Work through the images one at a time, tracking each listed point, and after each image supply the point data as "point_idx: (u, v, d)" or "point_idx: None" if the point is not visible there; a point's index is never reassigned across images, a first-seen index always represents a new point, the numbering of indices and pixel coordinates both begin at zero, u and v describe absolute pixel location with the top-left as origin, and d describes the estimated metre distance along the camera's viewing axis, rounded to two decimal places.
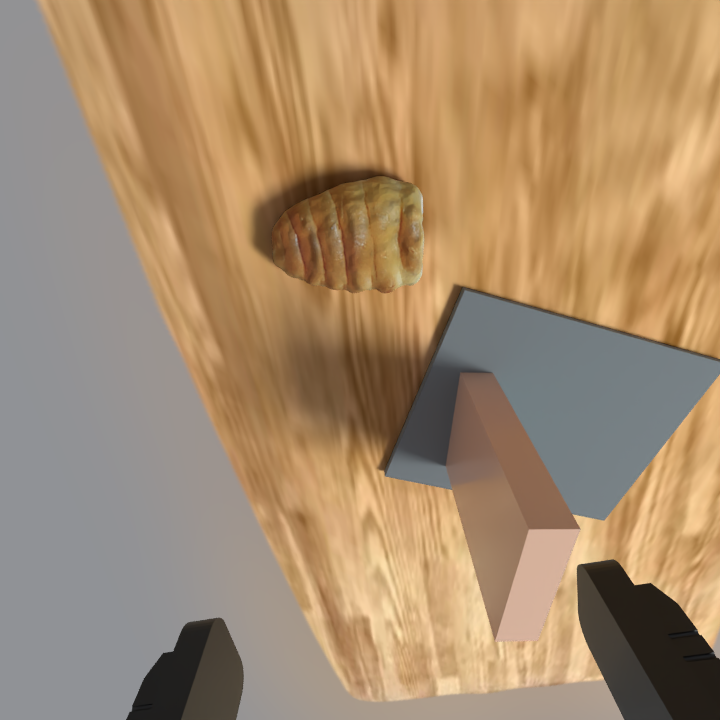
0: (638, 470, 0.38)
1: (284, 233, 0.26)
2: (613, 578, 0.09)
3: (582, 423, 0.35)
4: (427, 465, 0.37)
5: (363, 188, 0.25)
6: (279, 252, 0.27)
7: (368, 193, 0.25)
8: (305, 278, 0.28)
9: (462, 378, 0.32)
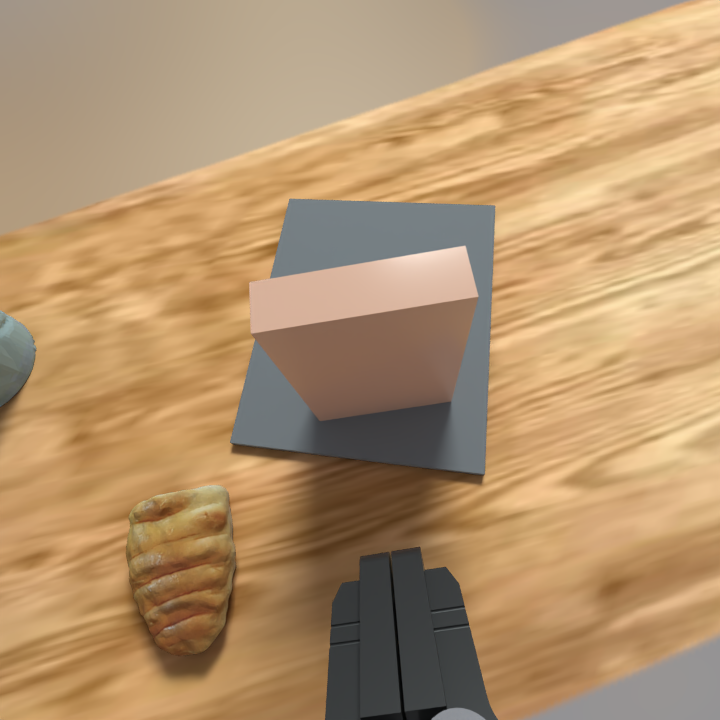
0: (417, 207, 0.37)
1: (167, 642, 0.25)
2: (409, 562, 0.10)
3: None
4: (454, 424, 0.30)
5: (128, 562, 0.27)
6: (189, 645, 0.25)
7: (129, 557, 0.27)
8: (212, 612, 0.26)
9: None
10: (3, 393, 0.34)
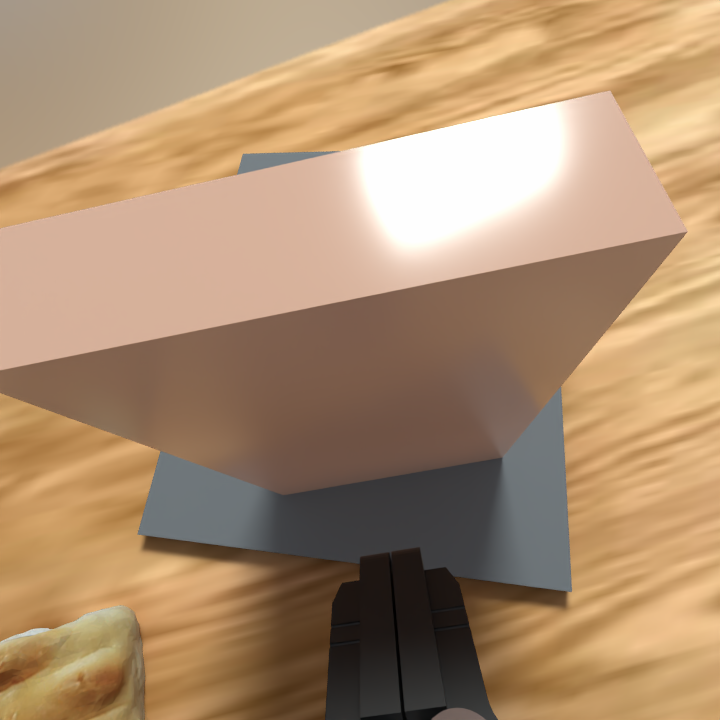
0: None
1: None
2: (409, 562, 0.10)
3: None
4: (510, 498, 0.17)
5: None
6: None
7: None
8: None
9: (278, 492, 0.18)
10: None
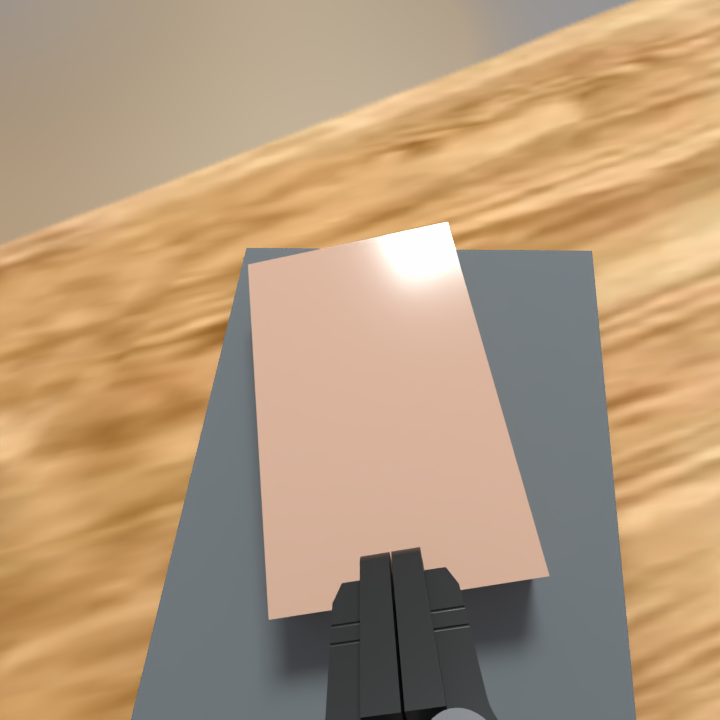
0: None
1: None
2: (409, 562, 0.10)
3: None
4: (567, 714, 0.15)
5: None
6: None
7: None
8: None
9: (268, 591, 0.15)
10: None
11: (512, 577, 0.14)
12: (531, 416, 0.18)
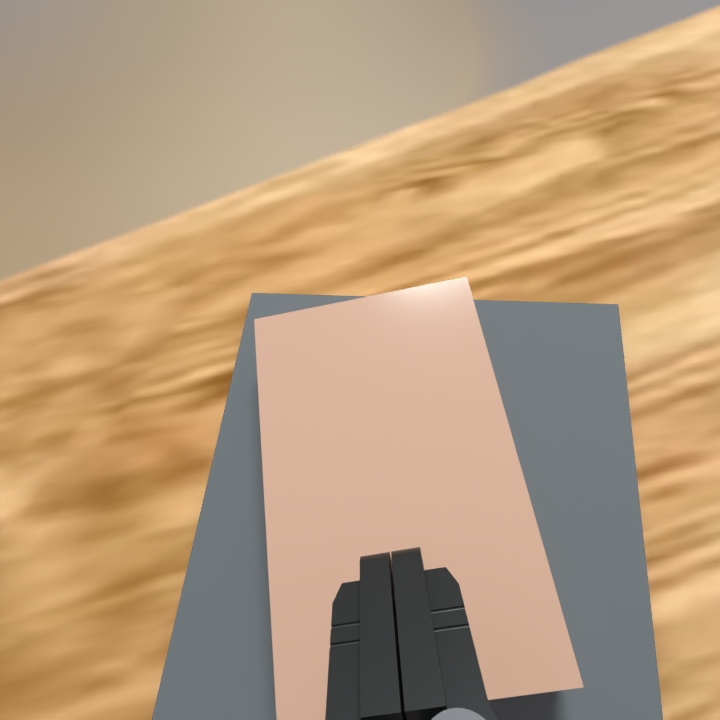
0: None
1: None
2: (409, 562, 0.10)
3: None
4: None
5: None
6: None
7: None
8: None
9: (276, 694, 0.14)
10: None
11: (543, 687, 0.13)
12: (556, 488, 0.17)
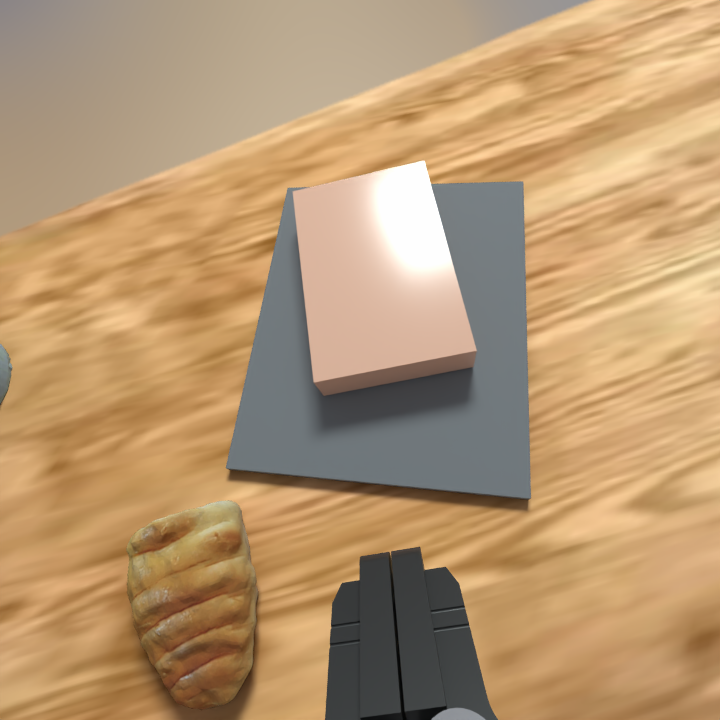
0: (432, 188, 0.32)
1: (185, 694, 0.21)
2: (409, 562, 0.10)
3: None
4: (489, 438, 0.25)
5: (131, 603, 0.23)
6: (212, 696, 0.21)
7: (131, 596, 0.23)
8: (236, 651, 0.21)
9: (312, 368, 0.25)
10: None
11: (455, 352, 0.24)
12: (477, 282, 0.28)
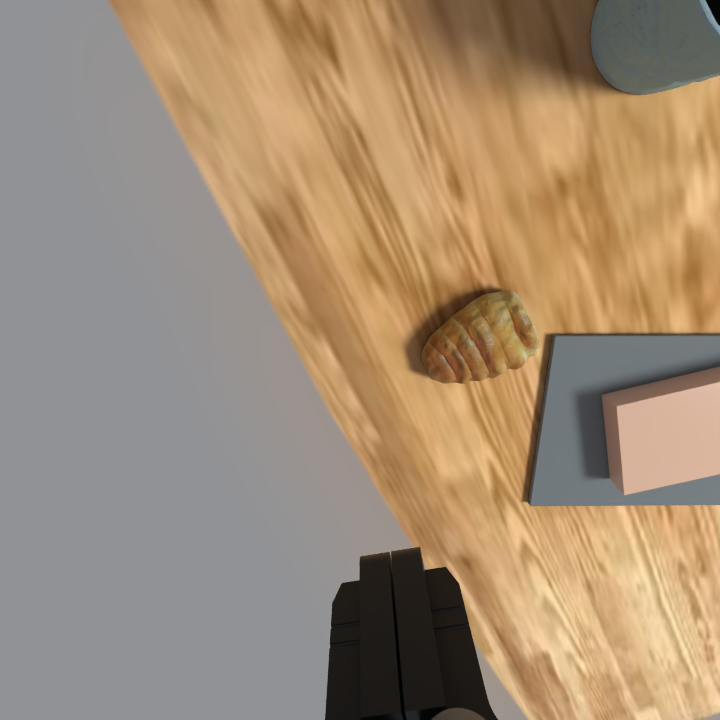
0: None
1: (434, 357, 0.37)
2: (409, 562, 0.10)
3: None
4: (564, 487, 0.43)
5: (477, 308, 0.36)
6: (433, 370, 0.37)
7: (482, 310, 0.35)
8: (457, 381, 0.38)
9: (626, 404, 0.37)
10: (616, 83, 0.31)
11: (624, 484, 0.40)
12: None
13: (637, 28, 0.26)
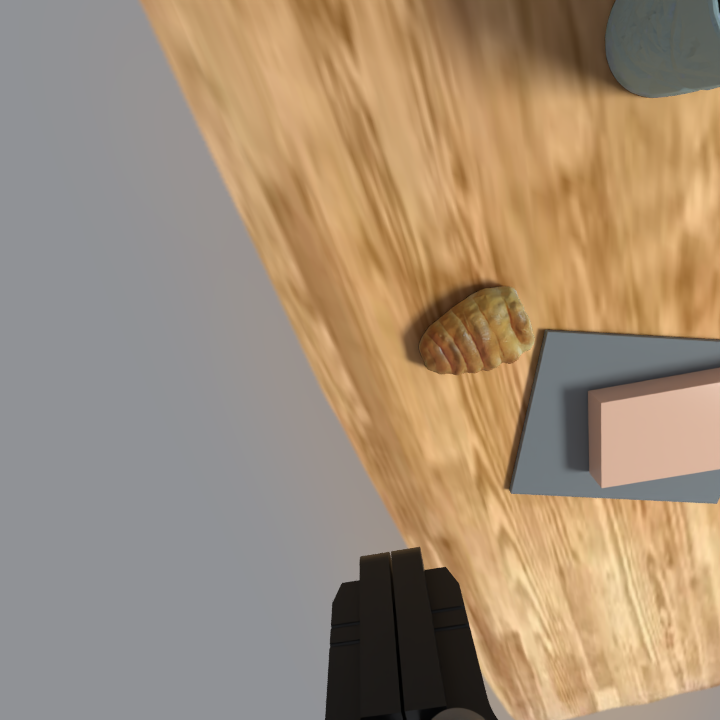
0: None
1: (430, 348, 0.38)
2: (409, 562, 0.10)
3: None
4: (544, 477, 0.44)
5: (475, 302, 0.36)
6: (430, 361, 0.38)
7: (480, 304, 0.36)
8: (452, 372, 0.39)
9: (611, 401, 0.38)
10: (627, 84, 0.32)
11: (602, 478, 0.41)
12: None
13: (651, 32, 0.26)
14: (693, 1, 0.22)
